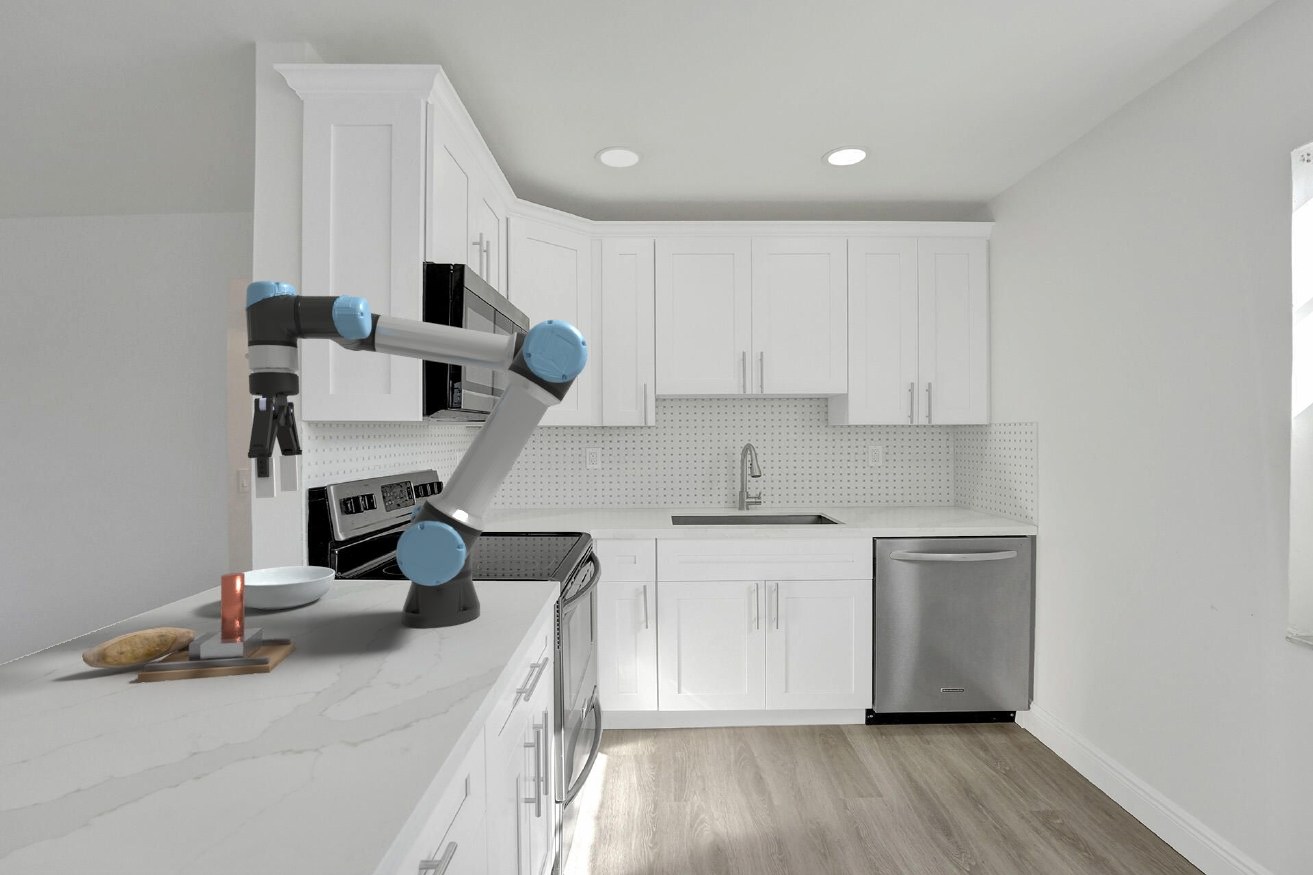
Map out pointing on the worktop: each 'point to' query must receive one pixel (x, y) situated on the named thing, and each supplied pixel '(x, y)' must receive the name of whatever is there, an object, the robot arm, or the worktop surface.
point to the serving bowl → (286, 586)
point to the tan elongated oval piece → (138, 647)
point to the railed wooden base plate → (217, 663)
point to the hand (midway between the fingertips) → (278, 494)
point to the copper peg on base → (228, 627)
